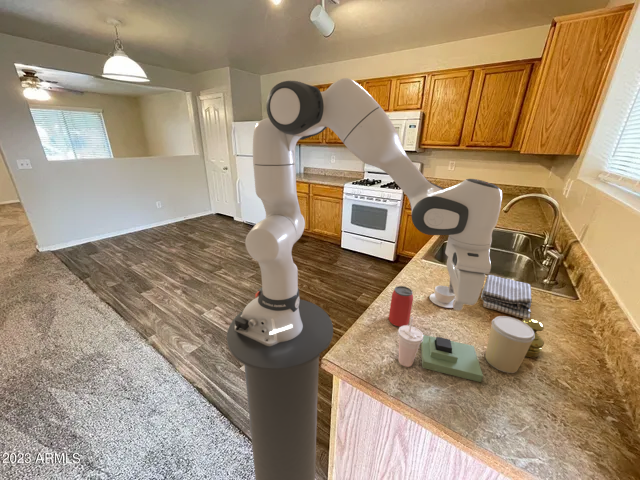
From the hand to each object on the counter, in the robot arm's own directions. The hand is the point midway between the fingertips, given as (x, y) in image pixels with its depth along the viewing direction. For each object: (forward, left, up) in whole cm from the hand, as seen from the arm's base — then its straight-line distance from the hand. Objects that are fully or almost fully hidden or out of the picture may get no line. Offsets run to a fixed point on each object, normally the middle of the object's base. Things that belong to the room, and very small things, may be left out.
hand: (454, 299), depth 67 cm
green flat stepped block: (+2, 0, -19) cm, 19 cm away
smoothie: (-9, -5, -19) cm, 22 cm away
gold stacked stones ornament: (+24, +12, -19) cm, 33 cm away
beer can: (-12, +13, -19) cm, 26 cm away
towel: (+26, +38, -19) cm, 50 cm away
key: (0, 0, -15) cm, 15 cm away
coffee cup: (+16, +4, -19) cm, 25 cm away
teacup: (+4, +31, -19) cm, 37 cm away
